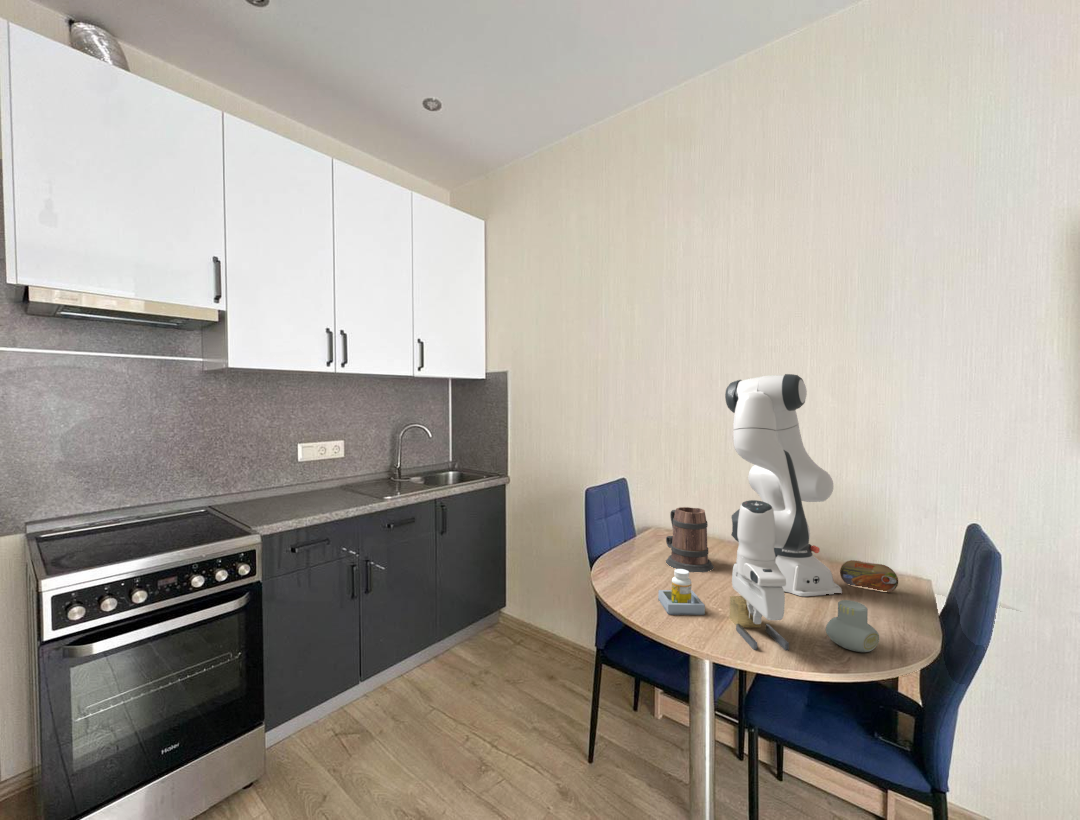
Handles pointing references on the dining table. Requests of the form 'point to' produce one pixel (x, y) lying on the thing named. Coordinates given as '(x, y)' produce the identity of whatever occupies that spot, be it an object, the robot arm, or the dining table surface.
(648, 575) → the dining table surface
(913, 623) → the dining table surface
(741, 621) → the block
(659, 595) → the tray
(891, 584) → the tin
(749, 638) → the piston track
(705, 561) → the tankard
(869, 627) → the grey rounded piece
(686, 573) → the supplement bottle
